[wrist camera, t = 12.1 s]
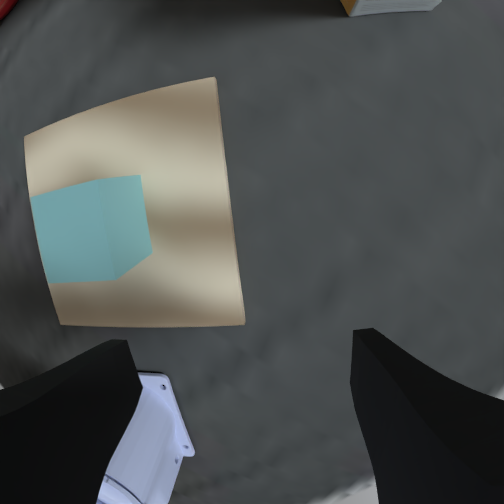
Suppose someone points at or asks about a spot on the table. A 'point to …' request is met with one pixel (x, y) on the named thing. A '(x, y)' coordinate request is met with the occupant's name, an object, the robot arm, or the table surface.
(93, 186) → the teal cube
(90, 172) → the birch board
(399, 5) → the small box
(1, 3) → the liquor
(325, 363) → the table surface
